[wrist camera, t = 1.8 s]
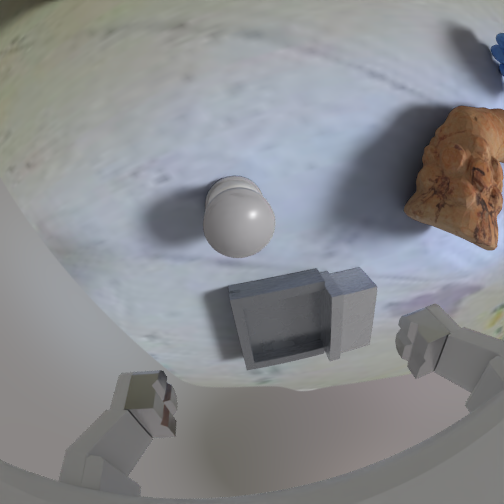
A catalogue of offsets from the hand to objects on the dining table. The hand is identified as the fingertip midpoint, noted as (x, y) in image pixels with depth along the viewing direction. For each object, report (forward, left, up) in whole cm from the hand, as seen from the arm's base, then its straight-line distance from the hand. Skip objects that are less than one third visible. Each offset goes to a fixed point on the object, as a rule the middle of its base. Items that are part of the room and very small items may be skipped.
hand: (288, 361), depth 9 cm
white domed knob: (0, -1, -18) cm, 18 cm away
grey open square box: (+13, +4, -18) cm, 22 cm away
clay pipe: (-1, +24, -18) cm, 30 cm away
